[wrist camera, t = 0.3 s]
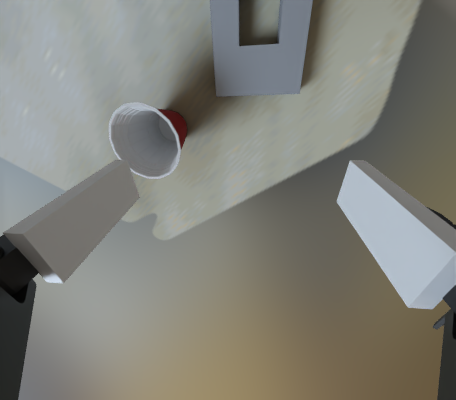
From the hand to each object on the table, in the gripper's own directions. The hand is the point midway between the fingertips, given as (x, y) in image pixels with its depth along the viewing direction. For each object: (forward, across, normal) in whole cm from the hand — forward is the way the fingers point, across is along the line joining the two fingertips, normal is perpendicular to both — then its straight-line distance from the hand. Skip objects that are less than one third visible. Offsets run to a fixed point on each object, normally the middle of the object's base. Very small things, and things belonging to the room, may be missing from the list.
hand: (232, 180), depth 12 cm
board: (+27, +2, +12) cm, 30 cm away
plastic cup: (+27, -14, -2) cm, 31 cm away
